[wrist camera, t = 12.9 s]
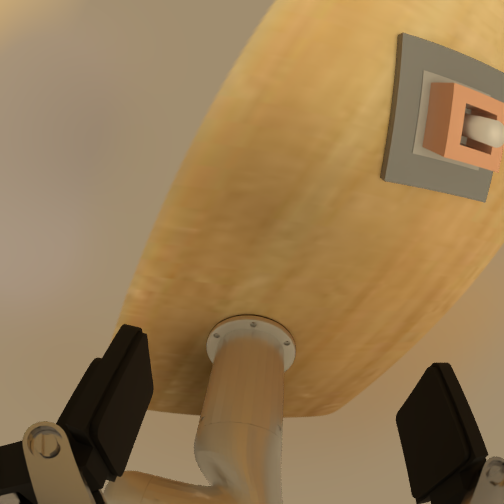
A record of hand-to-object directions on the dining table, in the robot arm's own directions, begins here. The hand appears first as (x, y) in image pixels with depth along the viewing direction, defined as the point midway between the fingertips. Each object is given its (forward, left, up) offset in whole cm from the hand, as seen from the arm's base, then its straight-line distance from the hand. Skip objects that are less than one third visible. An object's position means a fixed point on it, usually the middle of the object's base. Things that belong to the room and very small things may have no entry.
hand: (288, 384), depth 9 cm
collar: (+9, -17, -25) cm, 31 cm away
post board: (+9, -17, -26) cm, 33 cm away
